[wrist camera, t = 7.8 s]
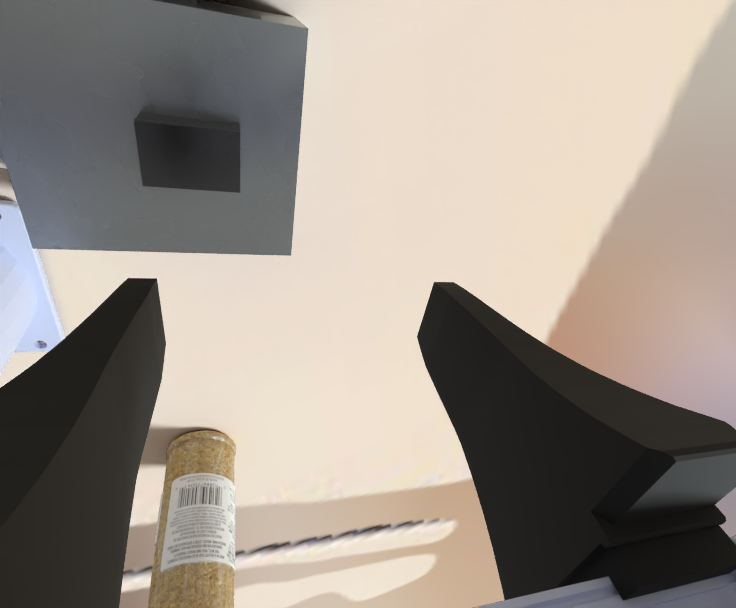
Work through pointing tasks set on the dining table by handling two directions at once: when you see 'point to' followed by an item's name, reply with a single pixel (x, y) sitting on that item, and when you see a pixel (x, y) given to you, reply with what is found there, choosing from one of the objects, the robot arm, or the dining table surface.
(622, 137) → the dining table surface
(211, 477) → the sprinkles bottle
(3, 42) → the drawer
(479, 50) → the dining table surface
